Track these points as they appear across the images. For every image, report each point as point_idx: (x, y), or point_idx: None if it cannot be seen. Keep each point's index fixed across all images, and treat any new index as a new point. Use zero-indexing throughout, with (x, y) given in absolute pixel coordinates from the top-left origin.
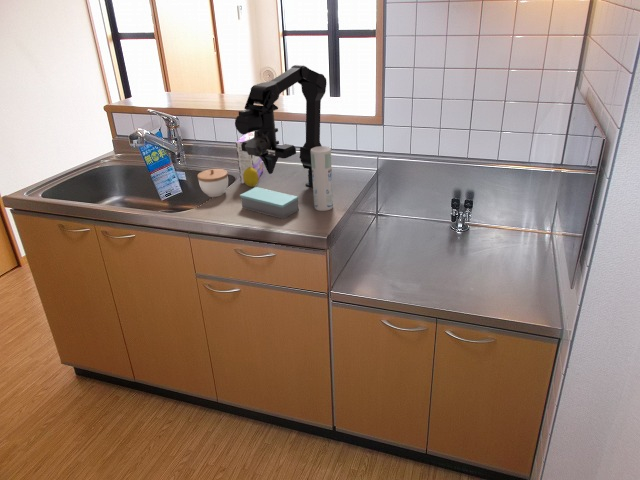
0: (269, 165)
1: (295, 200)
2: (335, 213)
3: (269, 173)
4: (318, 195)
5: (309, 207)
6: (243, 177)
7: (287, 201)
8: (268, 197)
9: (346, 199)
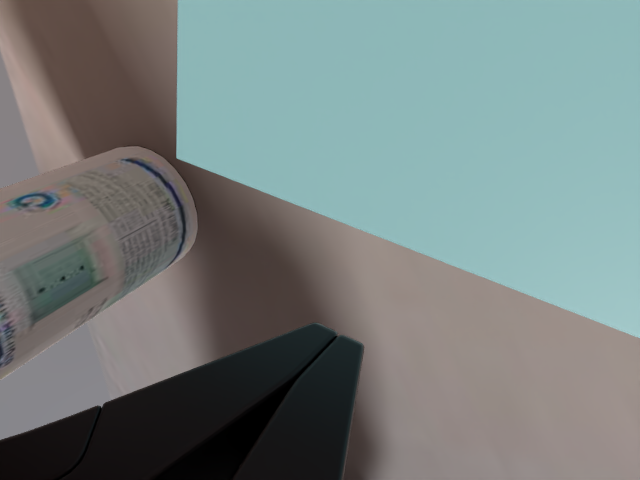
0: (139, 424)
1: None
2: (54, 124)
3: (340, 335)
4: (40, 180)
5: (218, 186)
6: None
7: (194, 6)
8: (458, 58)
9: (112, 319)
